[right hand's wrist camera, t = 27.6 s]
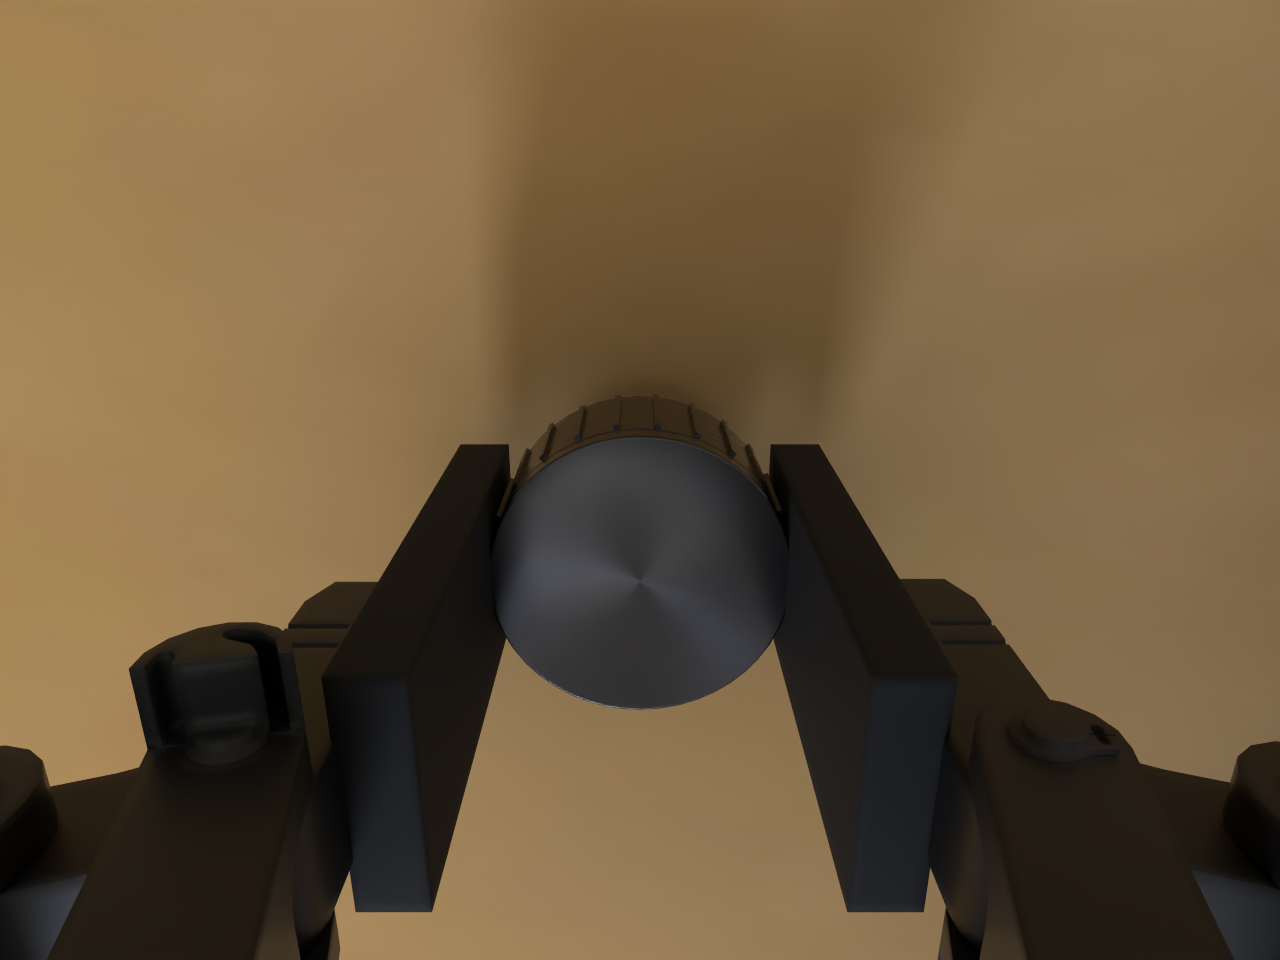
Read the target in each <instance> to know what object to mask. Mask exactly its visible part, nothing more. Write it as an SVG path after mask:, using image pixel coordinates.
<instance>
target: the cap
mask: <svg viewBox="0 0 1280 960" xmlns="http://www.w3.org/2000/svg"><path fill="white" fill-rule="evenodd" d="M782 514H784V513H783V511H782V508H781V506H780V503H779V501H778V498H777V496H776V493H775V491H774V488H773V486H772V483H771V481H770V478H769V476H768V474H767V473H766V474H763V472H762V470H761V468H760V466H759V464H758V461H757V459H756V456H755V454H754V451H753V448H752V447H751V445H750V444H748V445H747V446H746V445H745V444H744V442H743V441H742V440H741V439H740V438H739V437H738V436H737V435H736V434H735V433H734V432H733V431H732V430H730V429H729V428H728V425H727V422H726V421H724V420H722V421H721V422H720V421H719V420H717V419H716V418H714V417H712V416H711V415H709V414H708V413H706V412H704V411H701V410H699V409H697V408H696V407H695V404H692V403H690V404H689V405H687V404H684V403H681V402H677V401H674V400H669V399H663V398H659V395H653V397H640V396H636V397H624V398H621V395H619V396H615V399H611V400H607V401H602V402H599V403H596V404H593V405H590V406H587V407H585V405H583V406H580V408H579V410H578V411H577V412H575V413H573V414H571V415H569V416H567V417H566V418H564V419H563V420H561V421H560V422H558V423H557V424H555V425H554V424H553V423H552V424H550V425H549V426H548V429H547V432H546V433H545V434H544V435H543V436H542V437H540V439H539V440H538V441H537V442H536V443H535V445H534V446H533V447H532V448H531V449H530V450H529V449H528V448H527V449H526V450H525V452H524V454H523V457H522V460H521V462H520V465H519V468H518V471H517V473H516V476H515V478H514V479H511V478H510V480H509V483H508V485H507V488H506V491H505V493H504V496H503V498H502V501H501V504H500V506H499V509H498V512H497V514H496V517H495V520H498V524H497V527H496V529H495V533H494V536H493V540H492V543H491V547H490V557H491V573H492V589H493V604H494V612H495V615H496V618H497V620H498V622H499V625H500V627H501V629H502V631H503V633H504V635H505V636H506V638H507V639H508V641H509V642H510V644H511V646H512V647H513V649H514V650H515V651H516V652H517V654H518V655H519V656H520V657H521V658H522V659H523V660H524V662H525V663H526V664H527V665H528V666H529V667H531V668H532V669H533V670H534V671H535V672H536V673H537V674H538V675H539V676H541V677H542V678H544V679H545V680H547V681H548V682H549V683H551V684H552V685H554V686H555V687H557V688H559V689H561V690H563V691H565V692H567V693H569V694H570V695H573V696H576V697H578V698H581V699H583V700H586V701H588V702H592V703H596V704H600V705H603V706H608V707H615V708H622V709H641V710H644V709H658V708H665V707H671V706H676V705H681V704H684V703H687V702H691V701H694V700H697V699H700V698H702V697H704V696H707V695H709V694H711V693H713V692H716V691H717V690H719V689H721V688H722V687H724V686H726V685H728V684H729V683H731V682H732V681H734V680H735V679H736V678H737V677H739V676H740V675H741V674H743V673H744V672H745V671H746V670H747V669H748V668H749V667H750V666H752V665H753V664H754V663H755V662H756V661H757V660H758V659H759V657H760V656H761V655H762V654H763V652H764V651H765V650H766V649H767V647H768V646H769V645H770V643H771V641H772V640H773V638H774V636H775V635H776V633H777V631H778V630H779V627H780V625H781V623H782V620H783V618H784V616H785V607H786V591H787V576H788V561H789V540H788V537H787V534H786V531H785V528H784V525H783V523H782V520H781V518H780V515H782Z"/></svg>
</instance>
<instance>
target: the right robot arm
mask: <svg viewBox="0 0 1280 960" xmlns="http://www.w3.org/2000/svg"><path fill="white" fill-rule="evenodd" d="M769 478H770V481H771V483H772V486H773V488H774V491H775V493H776V496H777V498H778V501H779V503H780V506H781V508H782V511H783V513H784V514H782V515H780V518H781V520H782V523H783V525H784V528H785V531H786V534H787V537H788V540H789V561H788V576H787V591H786V607H785V616H784V618H783V620H782V623H781V625H780V627H779V630H778V631H777V633H776V635H775V636H774V638H773V639H774V643H775V646H776V650H777V654H778V657H779V661H780V665H781V668H782V672H783V676H784V680H785V683H786V687H787V691H788V694H789V698H790V702H791V705H792V709H793V713H794V716H795V720H796V724H797V728H798V731H799V735H800V739H801V742H802V746H803V750H804V753H805V757H806V761H807V764H808V768H809V772H810V776H811V779H812V783H813V787H814V790H815V794H816V798H817V801H818V805H819V809H820V812H821V816H822V820H823V824H824V827H825V831H826V835H827V838H828V842H829V846H830V849H831V853H832V857H833V860H834V864H835V868H836V872H837V875H838V879H839V883H840V886H841V890H842V894H843V897H844V901H845V905H846V908H847V912H924V906H925V899H926V892H927V886H928V879H929V872H930V867H931V870H932V872H933V875H934V877H935V880H936V882H937V885H938V887H939V890H940V892H941V895H942V897H943V900H944V902H945V905H946V910H945V916H944V923H943V929H942V935H941V942H940V948H939V954H938V960H1280V742H1276V741H1274V742H1268V743H1263V744H1257V745H1251V746H1250V747H1249V748H1247V749H1246V750H1245V751H1244V752H1243V753H1241V754H1240V755H1239V756H1238V758H1237V761H1236V765H1235V768H1234V772H1233V775H1232V779H1231V782H1230V783H1229V782H1224V781H1219V780H1214V779H1209V778H1204V777H1199V776H1194V775H1189V774H1184V773H1179V772H1173V771H1168V770H1163V769H1160V768H1156V767H1152V766H1148V765H1144V764H1140V763H1139V761H1138V759H1137V757H1136V755H1135V753H1134V751H1133V749H1132V747H1131V746H1130V745H1129V744H1128V742H1127V741H1126V740H1125V739H1124V737H1123V736H1122V735H1121V734H1120V732H1119V731H1118V730H1116V729H1115V728H1114V727H1112V726H1111V725H1109V724H1108V723H1106V722H1105V721H1103V720H1102V719H1100V718H1099V717H1097V716H1096V715H1094V714H1092V713H1089V712H1087V711H1084V710H1082V709H1080V708H1077V707H1075V706H1072V705H1070V704H1068V703H1064V702H1059V701H1054V700H1050V699H1049V698H1048V697H1047V695H1046V694H1045V692H1044V691H1043V690H1042V688H1041V687H1040V686H1039V684H1038V683H1037V682H1036V680H1035V679H1034V678H1033V676H1032V675H1031V674H1030V672H1029V671H1028V670H1027V668H1026V667H1025V665H1024V664H1023V663H1022V661H1021V660H1020V659H1019V657H1018V656H1017V655H1016V653H1015V652H1014V651H1013V649H1012V648H1011V647H1010V645H1006V643H1005V638H1004V637H1003V636H1002V634H1001V633H1000V632H999V630H998V629H997V628H996V626H995V625H992V624H991V620H990V618H989V617H988V616H987V614H986V613H985V611H984V610H983V609H982V607H981V606H980V605H979V603H978V602H977V601H976V599H975V598H973V597H972V596H970V595H969V594H967V593H966V592H964V591H962V590H961V589H959V588H958V587H956V586H954V585H953V584H951V583H950V582H948V581H947V580H945V579H899V578H898V576H897V574H896V573H895V571H894V569H893V568H892V566H891V564H890V563H889V561H888V559H887V558H886V556H885V554H884V553H883V551H882V549H881V548H880V546H879V544H878V543H877V541H876V539H875V538H874V536H873V534H872V533H871V531H870V529H869V528H868V526H867V524H866V523H865V521H864V519H863V518H862V516H861V514H860V513H859V511H858V509H857V508H856V506H855V504H854V503H853V501H852V499H851V498H850V496H849V494H848V493H847V491H846V489H845V488H844V486H843V484H842V483H841V481H840V479H839V478H838V476H837V474H836V473H835V471H834V469H833V468H832V466H831V464H830V462H829V461H828V459H827V457H826V456H825V454H824V452H823V451H822V449H821V447H820V446H819V444H771V450H770V468H769ZM509 480H510V461H509V444H461V445H460V446H459V448H458V450H457V451H456V453H455V455H454V456H453V458H452V460H451V461H450V463H449V465H448V466H447V468H446V470H445V471H444V473H443V475H442V476H441V478H440V480H439V481H438V483H437V485H436V486H435V488H434V490H433V491H432V493H431V495H430V496H429V498H428V500H427V501H426V503H425V505H424V506H423V508H422V510H421V511H420V513H419V515H418V516H417V518H416V520H415V521H414V523H413V525H412V526H411V528H410V530H409V531H408V533H407V535H406V536H405V538H404V540H403V541H402V543H401V545H400V546H399V548H398V550H397V551H396V553H395V555H394V556H393V558H392V560H391V561H390V563H389V565H388V566H387V568H386V570H385V571H384V573H383V575H382V576H381V578H380V580H379V581H378V582H335V583H333V584H332V585H330V586H328V587H327V588H325V589H324V590H322V591H321V592H319V593H317V594H316V595H314V596H313V597H311V598H310V599H308V600H306V601H305V602H304V603H303V605H302V606H301V608H300V609H299V610H298V612H297V613H296V614H295V616H294V617H293V618H292V620H291V621H290V623H289V624H288V629H284V631H282V630H281V629H280V628H278V627H274V626H270V625H265V624H261V623H257V622H241V623H224V624H218V625H213V626H207V627H202V628H197V629H194V630H192V631H189V632H186V633H183V634H180V635H177V636H175V637H172V638H169V639H167V640H165V641H164V642H162V643H160V644H159V645H157V646H155V647H153V648H152V649H150V650H148V651H146V652H145V653H144V654H143V655H142V656H141V657H140V658H139V659H138V660H137V661H136V662H135V663H134V664H133V665H132V666H131V667H130V668H129V672H130V677H131V681H132V685H133V689H134V693H135V698H136V702H137V706H138V710H139V715H140V719H141V723H142V727H143V732H144V736H145V740H146V744H147V749H148V750H147V752H146V754H145V756H144V759H143V761H142V763H141V765H140V767H139V768H135V769H132V770H128V771H124V772H120V773H116V774H111V775H106V776H101V777H96V778H91V779H86V780H81V781H76V782H71V783H66V784H61V785H57V786H52V787H50V785H49V781H48V778H47V774H46V771H45V767H44V764H43V761H42V760H41V759H40V758H39V757H38V756H36V755H35V754H34V753H33V752H32V751H30V750H28V749H22V748H17V747H11V746H0V960H339V953H340V944H339V937H338V929H337V923H336V916H335V910H334V908H335V905H336V903H337V900H338V898H339V895H340V893H341V890H342V888H343V885H344V883H345V880H346V878H347V875H348V873H349V870H350V876H351V883H352V890H353V896H354V903H355V910H356V912H432V910H433V906H434V903H435V899H436V895H437V891H438V888H439V884H440V880H441V877H442V873H443V869H444V866H445V862H446V858H447V855H448V851H449V847H450V843H451V840H452V836H453V832H454V829H455V825H456V821H457V818H458V814H459V810H460V807H461V803H462V799H463V795H464V792H465V788H466V784H467V781H468V777H469V773H470V770H471V766H472V762H473V759H474V755H475V751H476V747H477V744H478V740H479V736H480V733H481V729H482V725H483V722H484V718H485V714H486V711H487V707H488V703H489V699H490V696H491V692H492V688H493V685H494V681H495V677H496V674H497V670H498V666H499V663H500V659H501V655H502V651H503V648H504V644H505V640H506V636H505V635H504V633H503V631H502V629H501V627H500V625H499V622H498V620H497V618H496V615H495V612H494V604H493V589H492V573H491V557H490V547H491V543H492V540H493V536H494V533H495V529H496V527H497V524H498V520H495V517H496V514H497V512H498V509H499V506H500V504H501V501H502V498H503V496H504V493H505V491H506V488H507V485H508V483H509Z"/></svg>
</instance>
